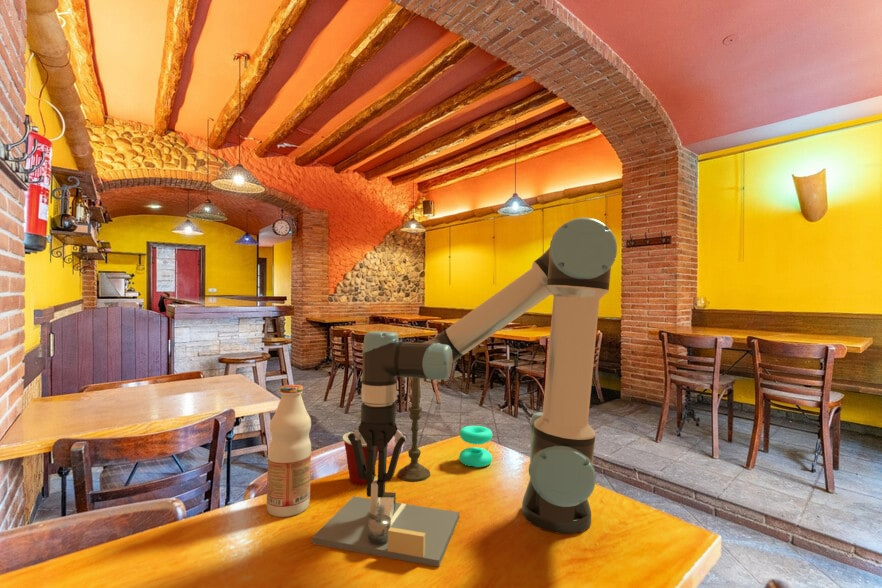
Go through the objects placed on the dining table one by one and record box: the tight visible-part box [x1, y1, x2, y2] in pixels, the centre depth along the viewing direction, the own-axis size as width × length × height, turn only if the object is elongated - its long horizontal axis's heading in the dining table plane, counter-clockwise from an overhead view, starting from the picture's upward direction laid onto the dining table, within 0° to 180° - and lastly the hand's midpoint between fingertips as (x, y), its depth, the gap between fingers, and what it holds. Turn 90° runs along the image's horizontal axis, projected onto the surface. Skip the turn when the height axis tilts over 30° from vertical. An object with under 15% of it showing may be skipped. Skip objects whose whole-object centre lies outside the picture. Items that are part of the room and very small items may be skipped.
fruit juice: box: [266, 384, 312, 518], centre depth 95 cm, size 9×9×28 cm
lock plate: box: [311, 496, 460, 568], centre depth 86 cm, size 26×18×5 cm
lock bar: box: [368, 491, 397, 543], centre depth 85 cm, size 14×4×3 cm, turn 179°
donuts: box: [458, 425, 493, 468], centre depth 124 cm, size 10×10×10 cm
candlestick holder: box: [397, 378, 431, 482], centre depth 115 cm, size 9×9×30 cm
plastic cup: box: [342, 431, 379, 486], centre depth 110 cm, size 11×11×12 cm
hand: (375, 511), depth 89 cm, fingers closed
